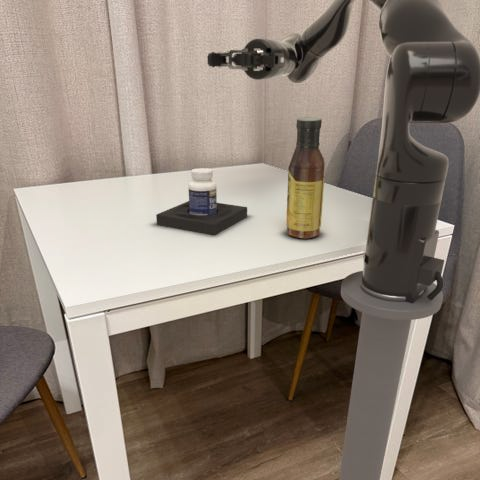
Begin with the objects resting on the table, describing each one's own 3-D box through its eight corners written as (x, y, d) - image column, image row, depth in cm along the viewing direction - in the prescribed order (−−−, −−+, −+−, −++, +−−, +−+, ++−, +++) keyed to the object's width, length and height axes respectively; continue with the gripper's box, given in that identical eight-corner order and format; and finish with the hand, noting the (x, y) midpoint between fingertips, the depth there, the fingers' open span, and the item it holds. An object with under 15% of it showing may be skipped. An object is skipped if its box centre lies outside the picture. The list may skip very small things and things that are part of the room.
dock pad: (247, 216, 98) (247, 207, 97) (214, 235, 88) (214, 224, 87) (193, 208, 103) (193, 198, 102) (156, 224, 93) (155, 214, 92)
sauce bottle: (296, 226, 92) (303, 114, 82) (326, 233, 89) (336, 117, 79) (278, 236, 87) (283, 118, 78) (309, 243, 84) (318, 121, 74)
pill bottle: (214, 225, 93) (213, 173, 88) (187, 224, 93) (184, 172, 89) (219, 216, 98) (218, 167, 93) (192, 215, 98) (190, 166, 93)
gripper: (237, 39, 104) (196, 37, 92) (298, 38, 98) (263, 36, 86) (237, 78, 108) (197, 81, 95) (296, 79, 102) (262, 83, 89)
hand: (229, 60), depth 91 cm, fingers open, 8 cm apart
